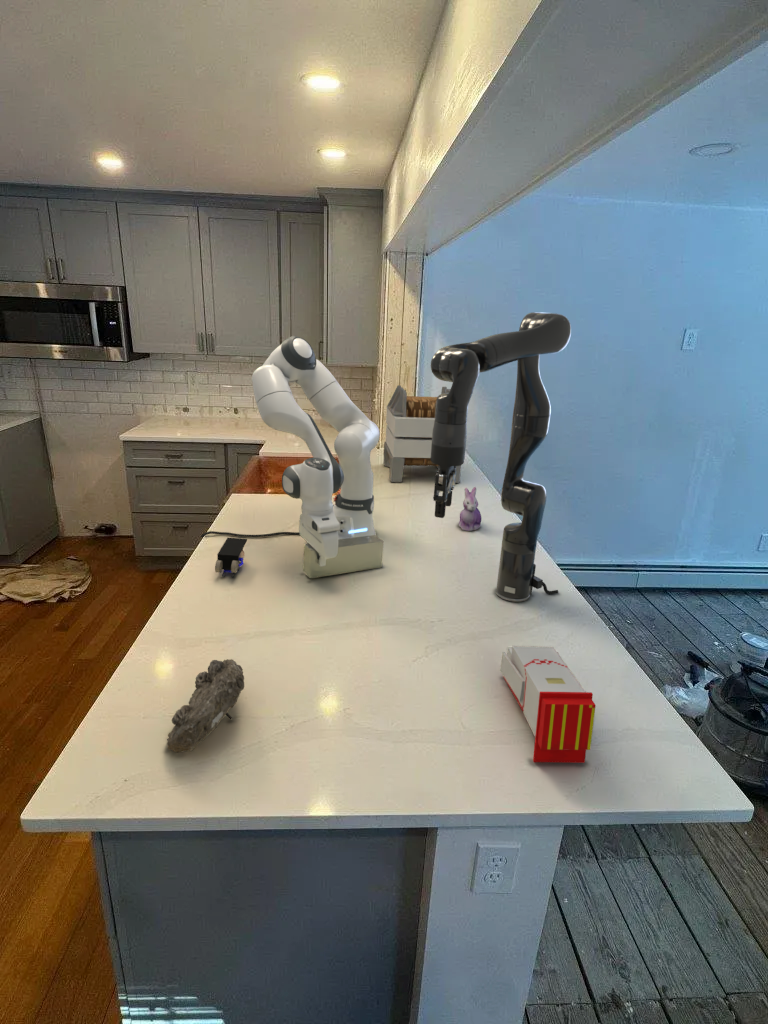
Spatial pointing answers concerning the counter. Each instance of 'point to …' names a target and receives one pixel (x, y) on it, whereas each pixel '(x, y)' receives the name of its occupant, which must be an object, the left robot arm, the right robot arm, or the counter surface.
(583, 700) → the toy
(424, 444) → the grey storage crate
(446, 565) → the counter surface
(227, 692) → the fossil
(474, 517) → the figurine
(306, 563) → the bar
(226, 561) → the toy car
